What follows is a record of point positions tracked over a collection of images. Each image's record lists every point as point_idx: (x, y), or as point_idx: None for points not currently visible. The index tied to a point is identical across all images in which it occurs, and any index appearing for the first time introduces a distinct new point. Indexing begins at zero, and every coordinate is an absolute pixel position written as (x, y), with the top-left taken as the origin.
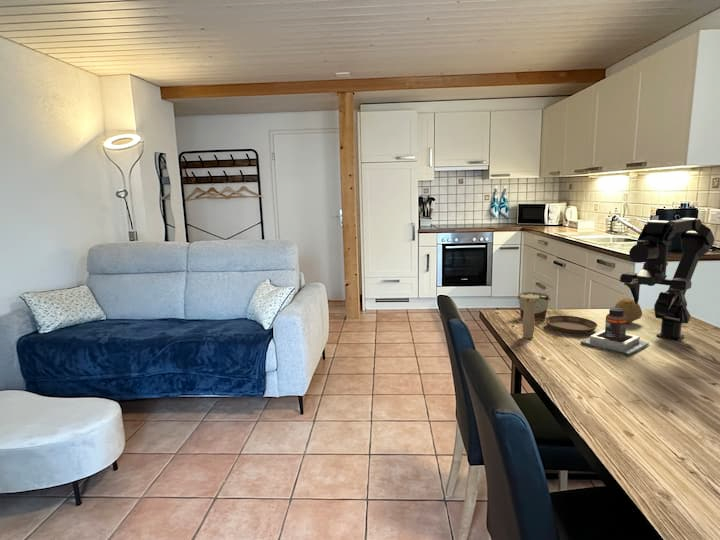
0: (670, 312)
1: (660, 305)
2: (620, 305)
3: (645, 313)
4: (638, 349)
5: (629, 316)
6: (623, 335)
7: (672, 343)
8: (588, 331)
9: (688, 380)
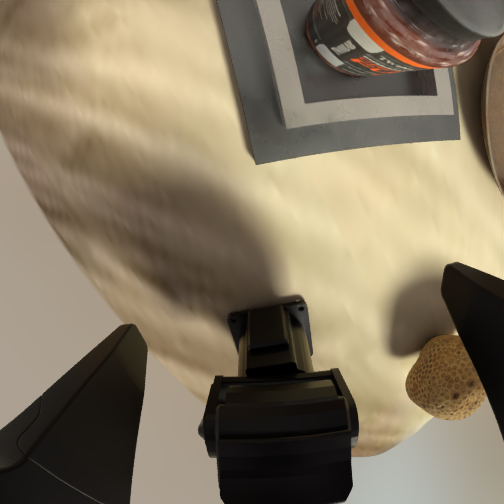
0: (250, 398)
1: (318, 421)
2: None
3: (406, 421)
4: (227, 42)
5: (435, 351)
6: (315, 12)
7: (221, 277)
8: (483, 87)
9: (3, 6)
